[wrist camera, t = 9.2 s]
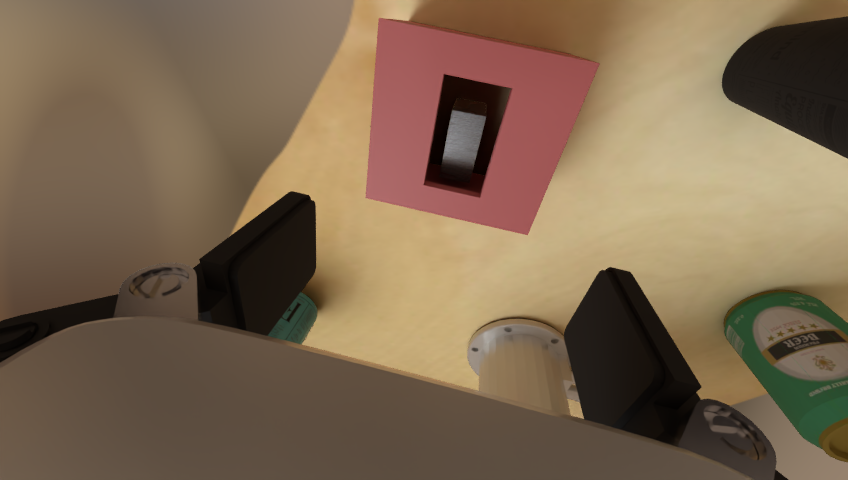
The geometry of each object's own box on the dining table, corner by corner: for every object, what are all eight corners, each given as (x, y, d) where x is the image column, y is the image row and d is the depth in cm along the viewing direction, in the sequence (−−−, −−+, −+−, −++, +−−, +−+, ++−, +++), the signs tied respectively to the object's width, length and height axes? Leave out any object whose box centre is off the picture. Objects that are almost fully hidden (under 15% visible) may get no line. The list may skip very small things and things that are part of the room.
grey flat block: (486, 116, 22) (469, 183, 25) (486, 103, 26) (471, 161, 29) (451, 109, 22) (439, 176, 25) (457, 97, 27) (445, 156, 29)
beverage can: (804, 273, 30) (962, 395, 20) (829, 324, 32) (981, 456, 22) (705, 308, 34) (797, 426, 24) (734, 352, 36) (828, 475, 26)
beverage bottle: (320, 282, 41) (205, 457, 24) (327, 320, 44) (232, 494, 28) (271, 276, 41) (128, 441, 25) (283, 313, 45) (164, 479, 28)
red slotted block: (568, 53, 24) (599, 63, 17) (518, 189, 30) (527, 235, 23) (408, 21, 24) (378, 18, 18) (392, 161, 30) (365, 197, 24)
